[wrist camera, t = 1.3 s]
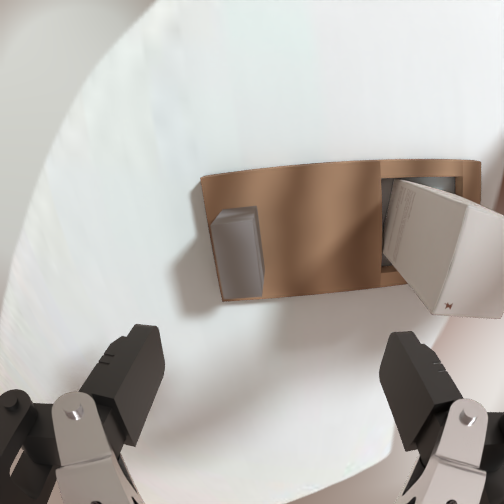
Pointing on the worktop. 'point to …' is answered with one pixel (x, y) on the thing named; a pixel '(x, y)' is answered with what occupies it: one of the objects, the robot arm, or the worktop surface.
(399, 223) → the supplement box
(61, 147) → the worktop surface
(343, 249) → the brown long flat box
